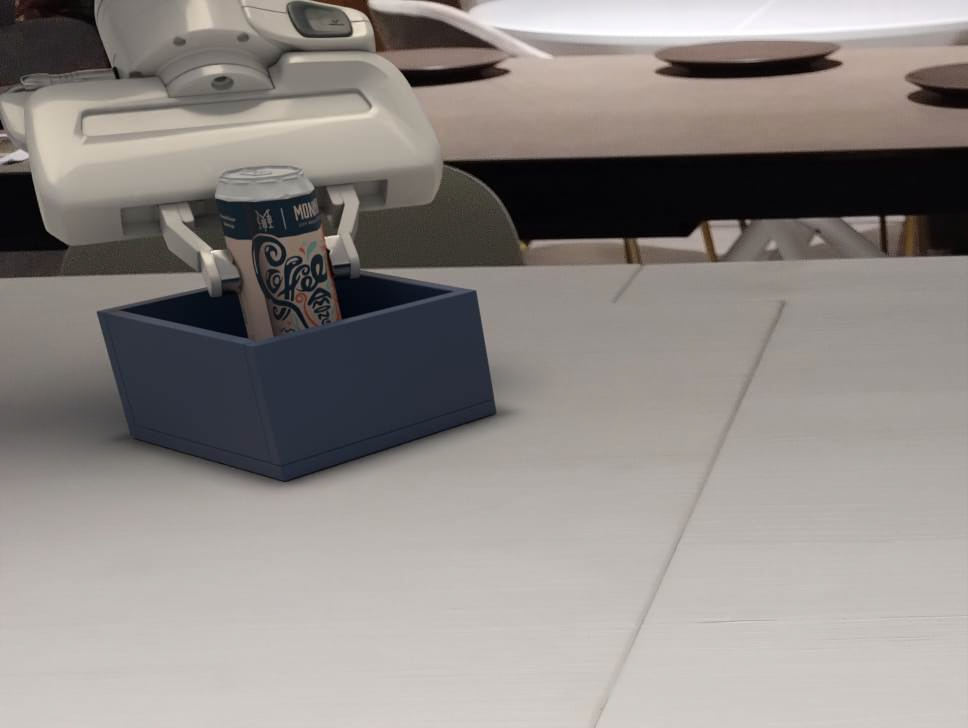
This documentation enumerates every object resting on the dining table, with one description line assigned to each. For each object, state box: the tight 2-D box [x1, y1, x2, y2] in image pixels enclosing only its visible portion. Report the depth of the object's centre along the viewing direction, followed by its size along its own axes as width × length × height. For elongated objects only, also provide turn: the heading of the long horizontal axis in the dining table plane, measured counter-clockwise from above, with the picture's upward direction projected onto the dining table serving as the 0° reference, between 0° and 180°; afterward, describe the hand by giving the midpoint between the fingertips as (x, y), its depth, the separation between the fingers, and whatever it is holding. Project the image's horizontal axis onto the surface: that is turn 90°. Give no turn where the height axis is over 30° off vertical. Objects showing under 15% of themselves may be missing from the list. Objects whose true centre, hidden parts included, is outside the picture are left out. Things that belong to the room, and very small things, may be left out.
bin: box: [96, 269, 497, 482], centre depth 91 cm, size 14×14×7 cm
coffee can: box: [215, 165, 342, 341], centre depth 89 cm, size 5×5×12 cm
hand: (288, 281), depth 88 cm, fingers closed on coffee can, 5 cm apart
